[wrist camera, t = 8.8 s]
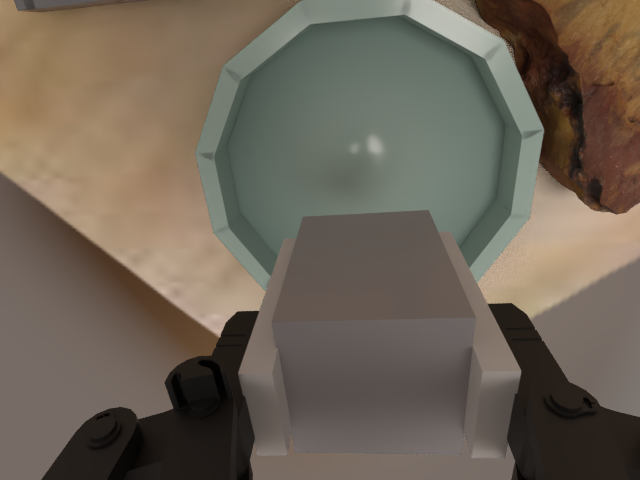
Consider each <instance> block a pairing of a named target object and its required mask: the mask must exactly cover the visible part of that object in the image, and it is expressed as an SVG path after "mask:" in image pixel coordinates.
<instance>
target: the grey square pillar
mask: <svg viewBox="0 0 640 480" xmlns="http://www.w3.org/2000/svg"><path fill="white" fill-rule="evenodd" d="M475 320H476V317H475V315H474V312H473V310H472V308H471V305H470V303H469V301H468V299H467V296H466V294H465V292H464V289H463V287H462V285H461V283H460V280H459V278H458V276H457V273H456V271H455V269H454V267H453V264H452V262H451V260H450V257H449V255H448V253H447V251H446V248H445V246H444V244H443V241H442V239H441V237H440V235H439V232H438V230H437V228H436V226H435V223H434V221H433V219H432V216H431V214H430V212H429V210H418V211H400V212H381V213H362V214H343V215H325V216H306V217H303V218H302V221H301V225H300V228H299V231H298V235H297V238H296V241H295V245H294V248H293V251H292V255H291V258H290V262H289V265H288V268H287V272H286V275H285V278H284V282H283V285H282V288H281V292H280V295H279V299H278V302H277V305H276V309H275V312H274V315H273V319H272V322H271V323H272V328H273V334H274V339H275V345H276V348H278V351H279V357H280V362H281V368H282V374H283V380H284V386H285V392H286V398H287V404H288V410H289V416H290V421H291V427H292V429H291V434H292V440H293V445H294V451H295V452H297V453H299V452H300V453H301V452H303V453H375V454H376V453H377V454H453V455H454V454H455V455H457V454H458V455H461V454H462V449H463V439H464V422H465V413H466V404H467V394H468V385H469V376H470V367H471V357H472V348H473V340H474V330H475Z"/></svg>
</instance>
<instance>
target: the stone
mask: <svg viewBox="0 0 640 480" xmlns="http://www.w3.org/2000/svg"><path fill="white" fill-rule="evenodd" d="M476 3H477V7H478V9H479V11H480V14H481V16H482V18H483V19H484V20H485V21H486V23H487V24H488V25H490V26H491V27H493V28H495V29H497V30H499V32H500V35H501V37H503V38H504V39H505V40H507V41H508V42H509V43H510V44H512V45H513V46H514V47H515V49H514V56H515V61H516V65H517V68H518V72H519V75H520V77H521V79H522V81H523V84H524V86H525V88H526V90H527V92H528V95H529V97H530V99H531V101H532V104H533V106H534V108H535V110H536V112H537V115H538V117H539V119H540V121H541V123H542V126H543V128H544V134H543V140H542V146H541V152H540V158H539V160H540V162H541V163H542V164H543V166H544V167H545V168H546V169H547V170H548V171H549V172H550V173H551V175H552V176H553V177H554V178H555V179H556V180H557V181H558V182H560V183H561V184H562V185H564V186H565V187H566V188H568V189H569V190H571V191H573V192H575V193H576V195H577V196H578V198H579V199H580V200H581V201H582V202H583V203H584V204H585V205H587V206H589V207H590V208H591V209H593V210H595V211H600V212H611V213H614V214H621V213H626V212H627V211H628V210H630V209H631V208H632V207H634V206H635V205H637V204H638V203H640V0H476Z"/></svg>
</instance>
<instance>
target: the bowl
mask: <svg viewBox="0 0 640 480" xmlns="http://www.w3.org/2000/svg"><path fill="white" fill-rule="evenodd" d="M543 134H544V128H543V126H542V123H541V121H540V119H539V117H538V115H537V112H536V110H535V108H534V106H533V104H532V101H531V99H530V97H529V95H528V92H527V90H526V88H525V86H524V84H523V81H522V79H521V77H520V75H519V72H518V70H517V68H516V66H515V64H514V61H513V59H512V57H511V55H510V53H509V50H508V48H507V46H506V44H505V41H504V40H503V39H501V38H499V37H498V36H496V35H494V34H492V33H490V32H489V31H487V30H485V29H483V28H482V27H480V26H478V25H476V24H474V23H473V22H471V21H469V20H467V19H466V18H464V17H462V16H460V15H459V14H457V13H455V12H453V11H451V10H450V9H448V8H446V7H444V6H443V5H441V4H439V3H437V2H436V1H434V0H301V1H300V2H299V3H297V4H296V5H295V6H294V7H293V8H291V9H290V10H289V11H288V12H287V13H285V14H284V15H283V16H282V17H281V18H279V19H278V20H277V21H276V22H275V23H273V24H272V25H271V26H270V27H269V28H268V29H266V30H265V31H264V32H263V33H262V34H260V35H259V36H258V37H257V38H256V39H254V40H253V41H252V42H251V43H250V44H248V45H247V46H246V47H245V48H244V49H242V50H241V51H240V52H239V53H238V54H236V55H235V56H234V57H233V58H232V59H231V60H229V61H228V62H227V63H226V64H225V65H223V67H222V70H221V73H220V77H219V80H218V83H217V86H216V89H215V92H214V95H213V99H212V102H211V105H210V108H209V111H208V114H207V117H206V121H205V124H204V127H203V130H202V133H201V136H200V139H199V143H198V146H197V149H196V152H195V155H196V159H197V164H198V168H199V172H200V177H201V181H202V185H203V190H204V194H205V198H206V203H207V207H208V211H209V215H210V220H211V224H212V228H213V233H214V234H215V235H216V236H217V237H218V238H219V240H220V241H221V242H222V243H223V244H224V245H225V246H226V248H227V249H228V250H229V251H230V252H231V253H232V254H233V256H234V257H235V258H236V259H237V260H238V261H239V262H240V263H241V265H242V266H243V267H244V268H245V269H246V270H247V271H248V273H249V274H250V275H251V276H252V277H253V278H254V279H255V281H256V282H257V283H258V284H259V285H260V286H261V287H262V288H263V289H264V290H267V287H268V284H269V281H270V278H271V275H272V273H273V270H274V267H275V264H276V261H277V258H278V255H279V252H280V249H281V246H282V243H283V240H284V239H291V238H297V235H298V231H299V228H300V225H301V221H302V218H303V217H306V216H325V215H343V214H362V213H381V212H400V211H418V210H429V212H430V214H431V216H432V219H433V221H434V223H435V226H436V228H437V230H438V232H447V231H451V233H452V235H453V237H454V239H455V241H456V243H457V245H458V247H459V249H460V251H461V253H462V255H463V257H464V259H465V261H466V263H467V265H468V267H469V269H470V271H471V273H472V275H473V277H474V278H475V280H476V282H478V281H479V280H480V279H481V278H482V276H483V275H484V274H485V273H486V271H487V270H488V269H489V268H490V266H491V265H492V264H493V263H494V261H495V260H496V259H497V258H498V256H499V255H500V254H501V253H502V252H503V250H504V249H505V248H506V247H507V245H508V244H509V243H510V242H511V240H512V239H513V238H514V237H515V235H516V234H517V233H518V232H519V230H520V229H521V228H522V227H523V226H524V224H525V223H526V222H527V221H528V219H529V217H530V211H531V205H532V199H533V193H534V187H535V182H536V176H537V170H538V164H539V158H540V152H541V146H542V140H543Z"/></svg>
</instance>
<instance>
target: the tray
mask: <svg viewBox="0 0 640 480" xmlns="http://www.w3.org/2000/svg"><path fill="white" fill-rule="evenodd" d="M135 1H144V0H14V2H15V4H16V7H17V10H18V11H29V12H45V11H54V10H63V9H72V8H81V7H90V6H99V5H108V4H117V3H126V2H135Z"/></svg>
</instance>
